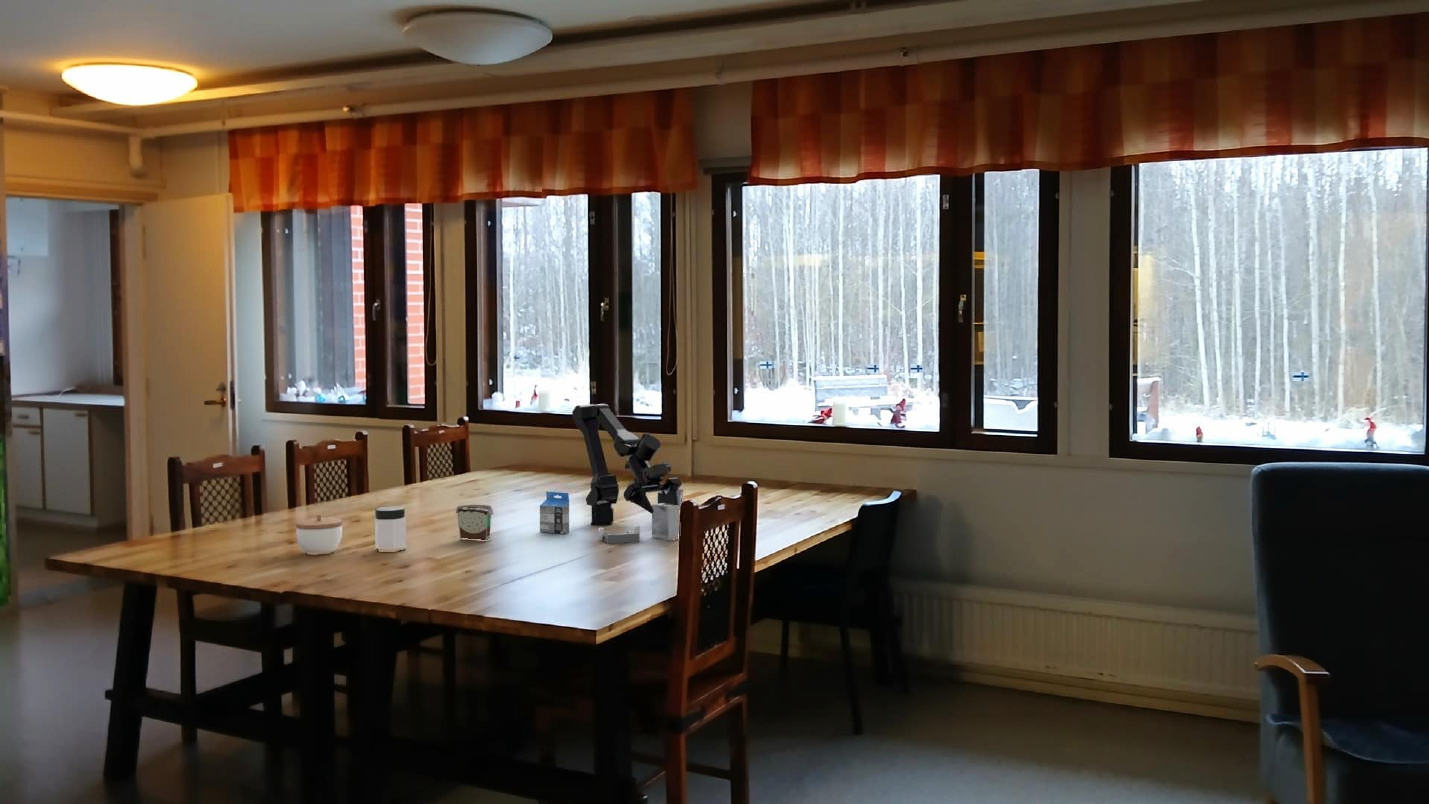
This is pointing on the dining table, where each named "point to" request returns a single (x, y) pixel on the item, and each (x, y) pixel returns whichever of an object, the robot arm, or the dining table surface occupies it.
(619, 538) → the dock
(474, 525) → the food container
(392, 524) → the jar
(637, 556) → the dining table surface
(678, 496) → the small box
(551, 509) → the label tape box
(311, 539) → the lidded bowl
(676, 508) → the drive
